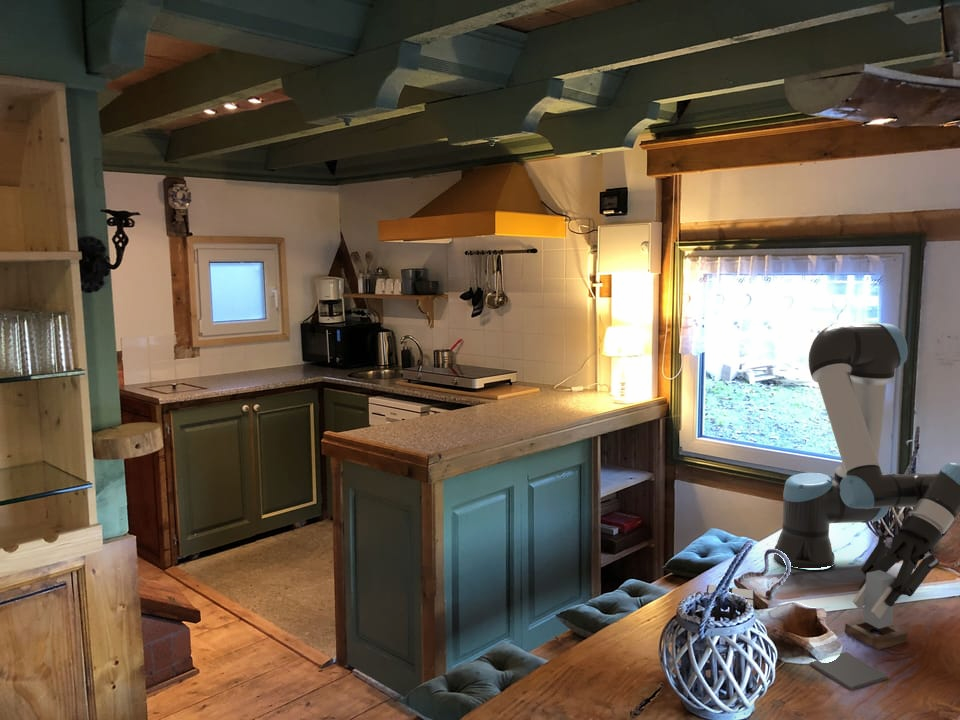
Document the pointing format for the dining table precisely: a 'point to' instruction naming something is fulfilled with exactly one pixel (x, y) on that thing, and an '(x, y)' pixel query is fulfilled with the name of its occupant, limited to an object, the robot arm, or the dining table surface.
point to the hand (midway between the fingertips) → (865, 609)
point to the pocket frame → (878, 642)
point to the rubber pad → (850, 671)
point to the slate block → (877, 598)
